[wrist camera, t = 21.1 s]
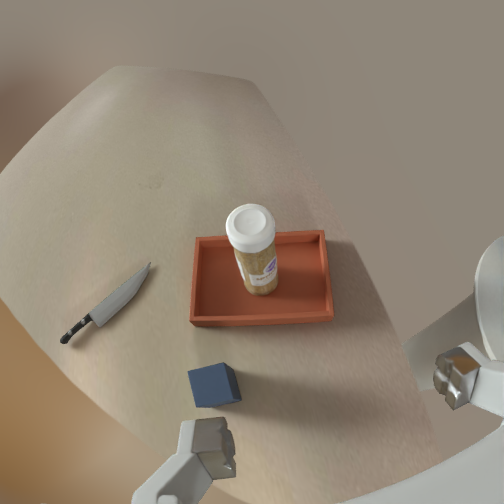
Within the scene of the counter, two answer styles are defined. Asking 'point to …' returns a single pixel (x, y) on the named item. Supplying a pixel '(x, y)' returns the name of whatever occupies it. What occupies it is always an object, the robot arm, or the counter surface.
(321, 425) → the counter surface
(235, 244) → the sprinkles bottle
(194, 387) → the blue block
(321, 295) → the tray
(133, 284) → the chef's knife
